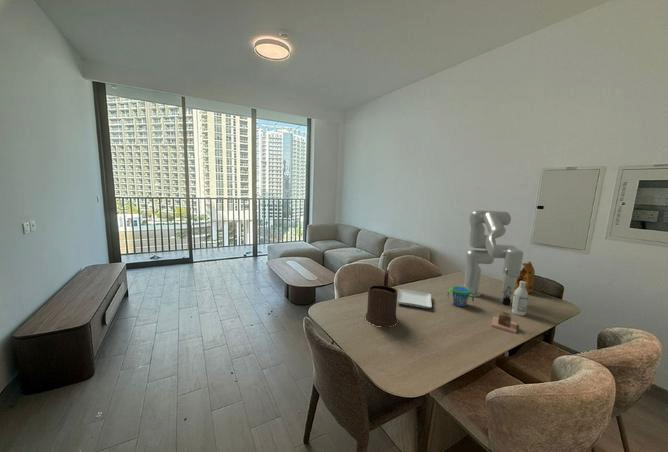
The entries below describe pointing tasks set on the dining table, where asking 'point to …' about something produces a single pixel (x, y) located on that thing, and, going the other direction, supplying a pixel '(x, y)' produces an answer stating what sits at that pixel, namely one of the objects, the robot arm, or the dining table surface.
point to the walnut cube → (504, 318)
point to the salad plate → (414, 298)
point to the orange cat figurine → (526, 277)
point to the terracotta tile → (510, 329)
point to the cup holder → (382, 304)
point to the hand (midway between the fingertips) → (506, 301)
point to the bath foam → (520, 299)
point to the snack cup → (460, 295)
